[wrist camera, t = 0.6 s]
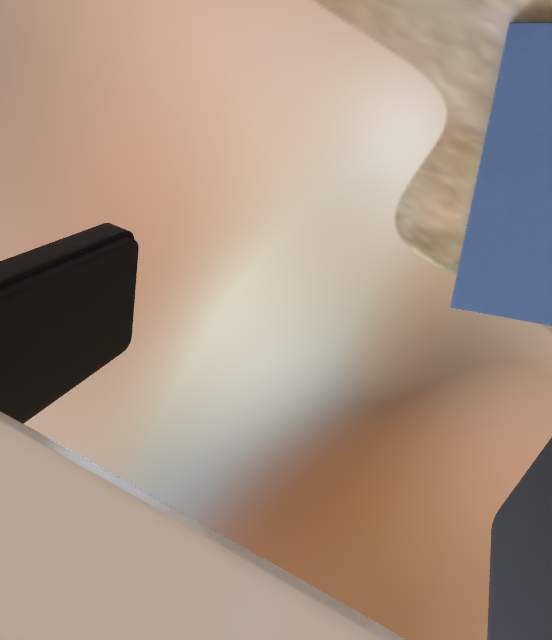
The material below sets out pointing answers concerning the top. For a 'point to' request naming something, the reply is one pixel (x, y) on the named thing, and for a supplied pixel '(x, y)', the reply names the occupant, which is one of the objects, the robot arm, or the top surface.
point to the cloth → (514, 190)
